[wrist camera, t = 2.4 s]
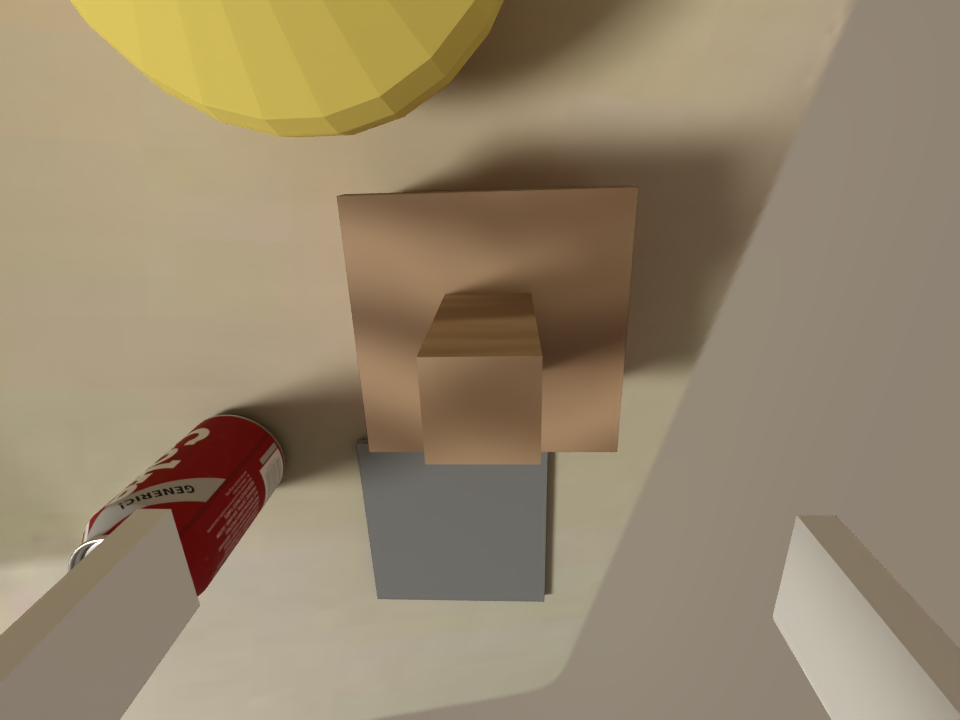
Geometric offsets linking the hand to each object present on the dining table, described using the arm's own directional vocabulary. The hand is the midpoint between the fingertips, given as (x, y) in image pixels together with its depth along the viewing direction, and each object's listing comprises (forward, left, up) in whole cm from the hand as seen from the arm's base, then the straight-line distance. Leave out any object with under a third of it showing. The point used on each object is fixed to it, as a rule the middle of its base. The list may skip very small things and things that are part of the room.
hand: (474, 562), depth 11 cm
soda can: (+11, -18, -22) cm, 30 cm away
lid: (0, 0, -16) cm, 16 cm away
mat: (+17, -3, -22) cm, 27 cm away
